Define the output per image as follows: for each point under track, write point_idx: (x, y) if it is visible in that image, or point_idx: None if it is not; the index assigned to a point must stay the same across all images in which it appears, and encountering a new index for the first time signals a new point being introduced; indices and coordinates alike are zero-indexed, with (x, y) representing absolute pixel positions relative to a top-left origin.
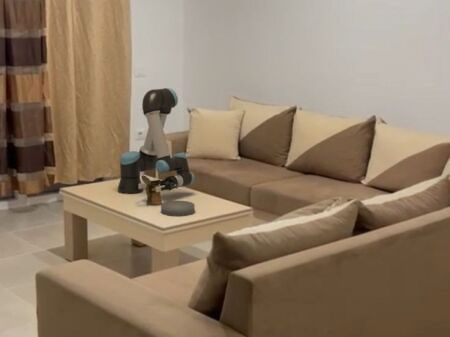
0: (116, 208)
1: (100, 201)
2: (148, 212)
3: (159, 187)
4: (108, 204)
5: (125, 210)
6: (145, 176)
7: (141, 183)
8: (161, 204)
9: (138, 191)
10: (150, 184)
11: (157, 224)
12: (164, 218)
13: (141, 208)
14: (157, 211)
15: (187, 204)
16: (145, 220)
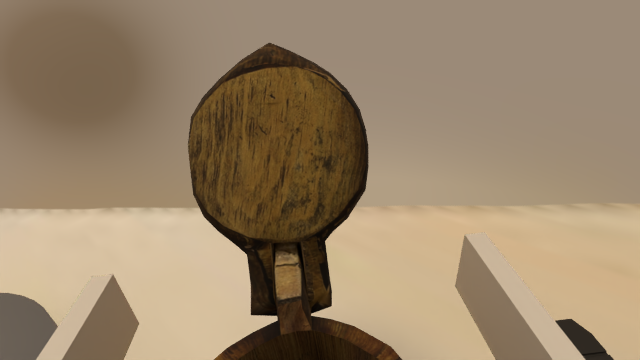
0: (396, 218)
1: (630, 226)
2: (175, 289)
3: (61, 334)
4: (518, 226)
5: None
6: (231, 70)
7: (518, 279)
8: (50, 328)
9: None
10: (275, 284)
11: (32, 215)
12: (11, 282)
13: None
14: None
15: None
16: (116, 212)
